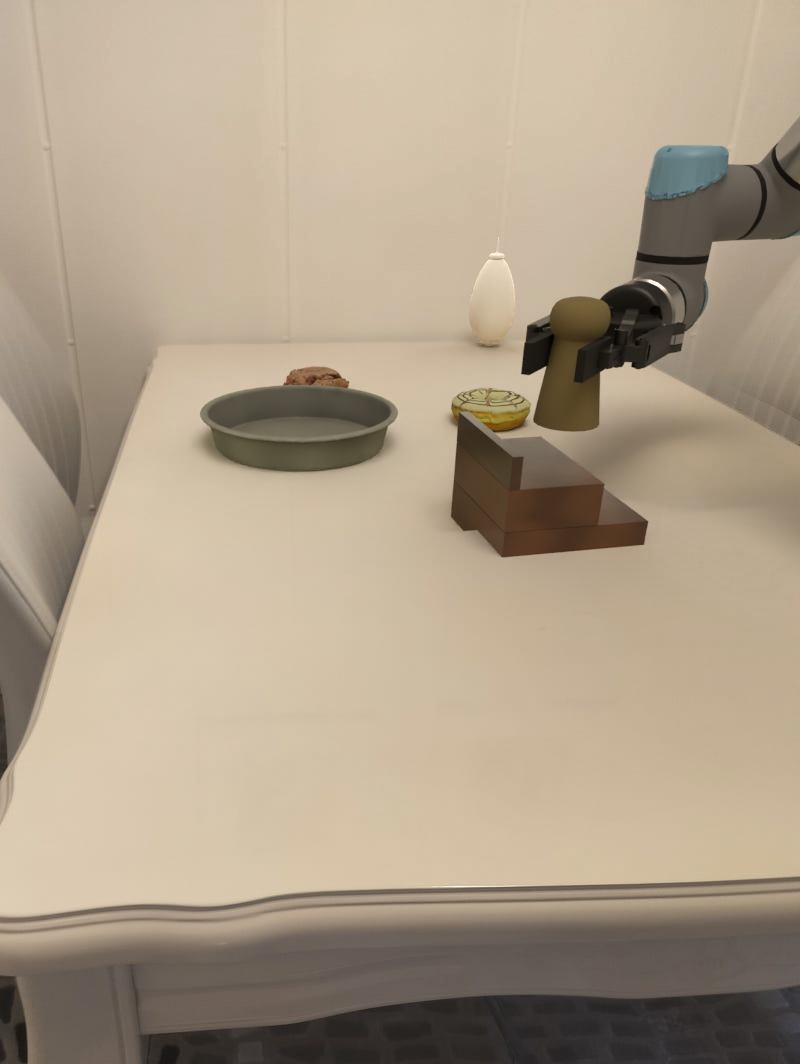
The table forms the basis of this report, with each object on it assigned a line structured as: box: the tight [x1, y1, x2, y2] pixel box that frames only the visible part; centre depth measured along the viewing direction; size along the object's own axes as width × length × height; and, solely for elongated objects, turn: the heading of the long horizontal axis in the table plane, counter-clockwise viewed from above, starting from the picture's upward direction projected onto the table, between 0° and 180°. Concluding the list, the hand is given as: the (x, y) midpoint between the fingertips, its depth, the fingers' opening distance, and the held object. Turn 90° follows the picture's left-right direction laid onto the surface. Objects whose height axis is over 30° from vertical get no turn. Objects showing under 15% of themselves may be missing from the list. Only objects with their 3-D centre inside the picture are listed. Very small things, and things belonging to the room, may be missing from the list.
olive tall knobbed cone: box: [532, 295, 611, 433], centre depth 83 cm, size 6×6×11 cm
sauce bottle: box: [468, 236, 517, 347], centre depth 161 cm, size 8×8×18 cm
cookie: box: [282, 365, 350, 388], centre depth 138 cm, size 10×11×3 cm
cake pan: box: [199, 384, 399, 471], centre depth 115 cm, size 25×25×4 cm
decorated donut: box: [450, 387, 532, 432], centre depth 124 cm, size 10×11×4 cm
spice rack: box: [450, 412, 649, 558], centre depth 88 cm, size 14×14×11 cm
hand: (553, 362), depth 78 cm, fingers closed on olive tall knobbed cone, 4 cm apart
